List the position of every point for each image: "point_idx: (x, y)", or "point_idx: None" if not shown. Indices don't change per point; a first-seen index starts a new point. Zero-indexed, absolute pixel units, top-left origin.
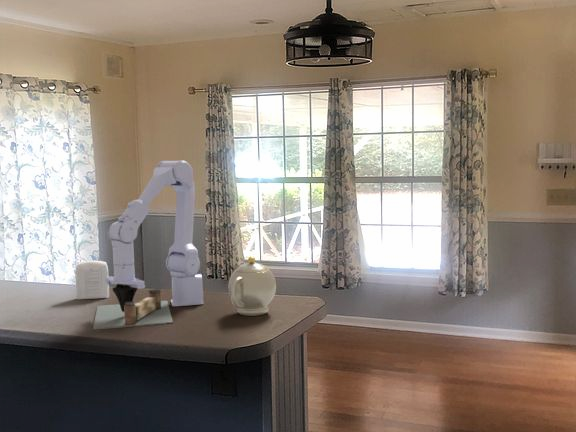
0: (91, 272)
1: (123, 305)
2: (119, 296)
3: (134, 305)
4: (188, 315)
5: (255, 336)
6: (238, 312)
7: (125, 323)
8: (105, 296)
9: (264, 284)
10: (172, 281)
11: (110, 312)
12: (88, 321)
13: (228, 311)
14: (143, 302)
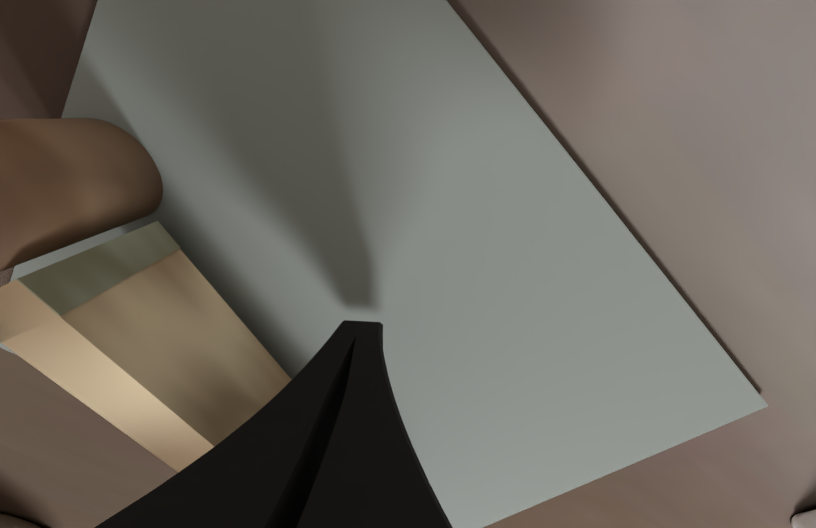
0: None
1: (324, 354)
2: (332, 443)
3: None
4: (133, 451)
5: None
6: (8, 522)
7: (92, 121)
8: (812, 521)
9: None
10: None
11: (556, 333)
12: (582, 61)
13: (90, 523)
14: (160, 446)
